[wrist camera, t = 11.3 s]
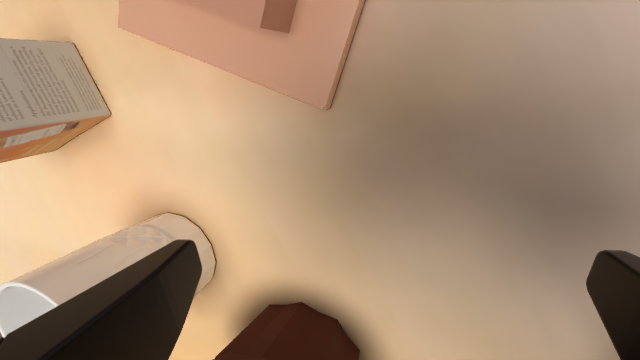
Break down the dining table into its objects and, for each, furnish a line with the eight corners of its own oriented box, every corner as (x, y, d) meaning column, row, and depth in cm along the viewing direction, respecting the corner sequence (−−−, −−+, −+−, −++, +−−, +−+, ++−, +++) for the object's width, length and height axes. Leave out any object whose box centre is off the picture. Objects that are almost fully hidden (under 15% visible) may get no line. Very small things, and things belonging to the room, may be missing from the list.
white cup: (214, 308, 27) (102, 429, 18) (139, 266, 29) (1, 358, 20) (230, 231, 24) (103, 333, 15) (144, 189, 25) (-18, 257, 16)
